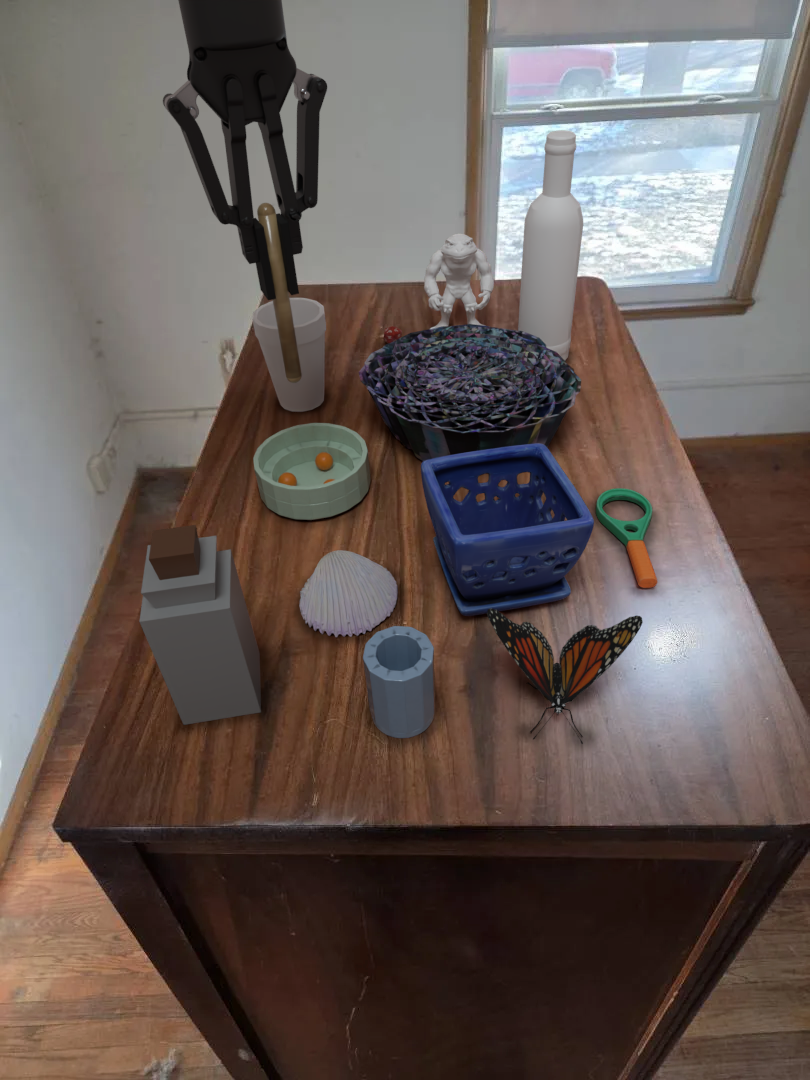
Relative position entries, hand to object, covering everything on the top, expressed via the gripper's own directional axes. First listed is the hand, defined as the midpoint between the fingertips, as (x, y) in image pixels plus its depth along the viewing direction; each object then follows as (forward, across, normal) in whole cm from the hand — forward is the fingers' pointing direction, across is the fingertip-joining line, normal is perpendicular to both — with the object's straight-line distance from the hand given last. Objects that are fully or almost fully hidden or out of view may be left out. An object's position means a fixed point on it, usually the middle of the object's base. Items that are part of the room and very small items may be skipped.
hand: (279, 291), depth 69 cm
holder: (+26, -2, -31) cm, 41 cm away
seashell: (+26, -2, -16) cm, 31 cm away
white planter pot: (+26, +6, +23) cm, 35 cm away
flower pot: (+26, +13, -20) cm, 36 cm away
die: (+26, +24, +32) cm, 48 cm away
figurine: (+26, +35, +32) cm, 54 cm away
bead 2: (+24, +3, +5) cm, 25 cm away
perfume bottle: (+26, -16, -22) cm, 38 cm away
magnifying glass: (+26, +29, -22) cm, 44 cm away
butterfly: (+26, +10, -36) cm, 45 cm away
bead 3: (+24, +2, 0) cm, 24 cm away
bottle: (+26, +42, +18) cm, 53 cm away
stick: (+10, 0, 0) cm, 10 cm away
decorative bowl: (+26, +24, +6) cm, 36 cm away
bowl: (+26, +1, +3) cm, 26 cm away
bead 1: (+24, -2, +3) cm, 24 cm away
